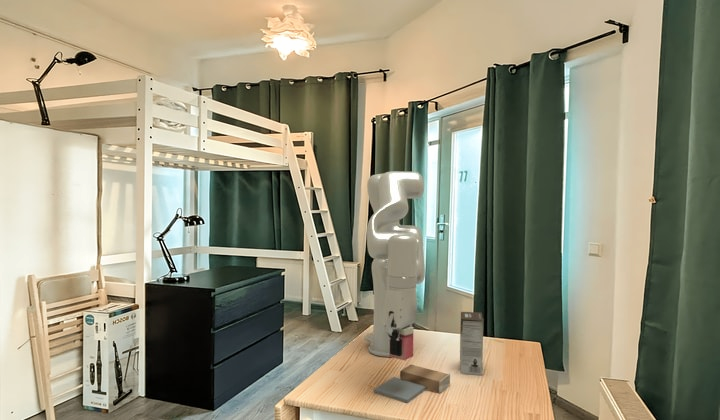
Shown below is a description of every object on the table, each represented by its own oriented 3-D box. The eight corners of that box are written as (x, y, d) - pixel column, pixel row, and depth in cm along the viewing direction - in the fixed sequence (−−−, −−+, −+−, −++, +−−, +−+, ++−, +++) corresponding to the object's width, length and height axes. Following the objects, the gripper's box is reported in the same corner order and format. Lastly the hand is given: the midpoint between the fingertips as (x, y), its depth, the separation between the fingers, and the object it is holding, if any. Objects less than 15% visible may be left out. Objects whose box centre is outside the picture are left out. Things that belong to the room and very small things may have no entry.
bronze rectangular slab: (399, 381, 120) (400, 370, 120) (410, 374, 125) (410, 364, 125) (440, 393, 113) (440, 381, 113) (449, 385, 118) (450, 374, 118)
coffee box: (459, 362, 135) (460, 310, 135) (480, 364, 134) (481, 312, 133) (460, 373, 126) (461, 318, 126) (483, 375, 125) (484, 320, 124)
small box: (388, 356, 114) (388, 326, 114) (397, 352, 117) (398, 323, 117) (404, 361, 110) (404, 330, 110) (413, 356, 114) (414, 326, 114)
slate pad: (373, 392, 113) (373, 389, 113) (393, 379, 121) (393, 377, 121) (407, 403, 107) (407, 399, 107) (426, 389, 115) (426, 386, 115)
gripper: (405, 276, 123) (404, 341, 123) (371, 285, 109) (370, 358, 109) (429, 279, 118) (428, 347, 118) (397, 288, 104) (396, 364, 105)
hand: (400, 351), depth 114 cm, fingers closed on small box, 4 cm apart
